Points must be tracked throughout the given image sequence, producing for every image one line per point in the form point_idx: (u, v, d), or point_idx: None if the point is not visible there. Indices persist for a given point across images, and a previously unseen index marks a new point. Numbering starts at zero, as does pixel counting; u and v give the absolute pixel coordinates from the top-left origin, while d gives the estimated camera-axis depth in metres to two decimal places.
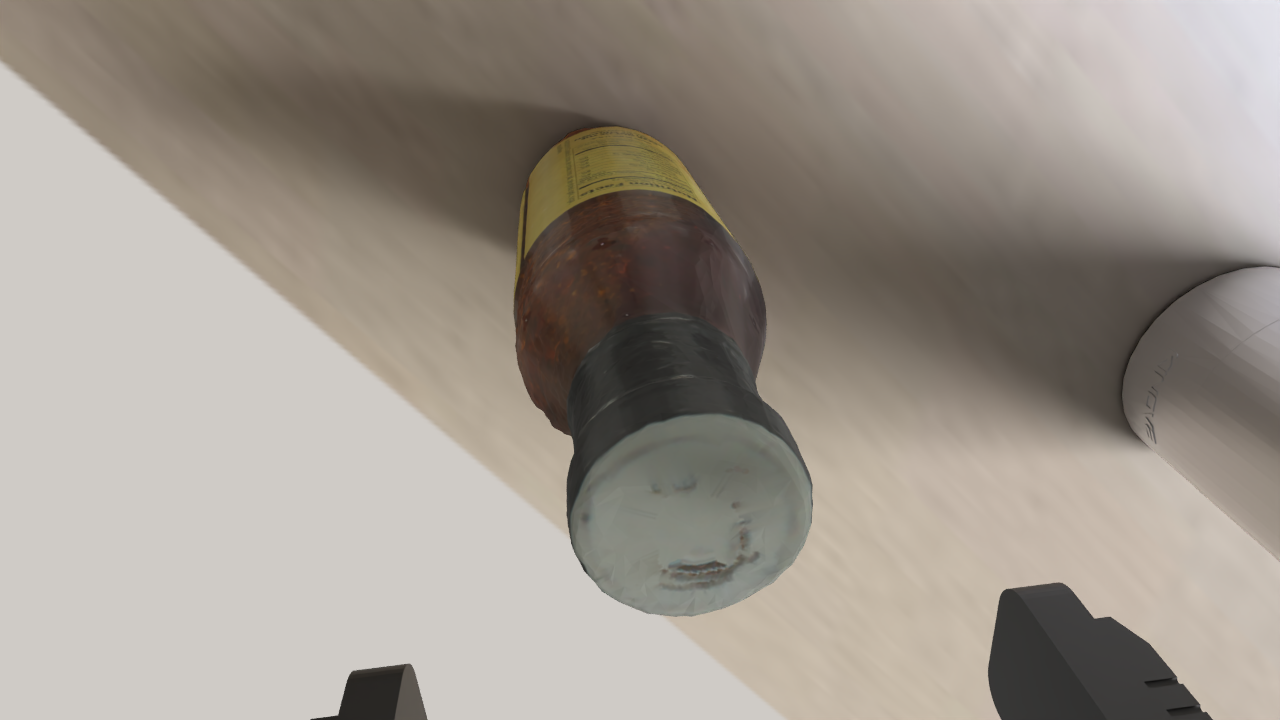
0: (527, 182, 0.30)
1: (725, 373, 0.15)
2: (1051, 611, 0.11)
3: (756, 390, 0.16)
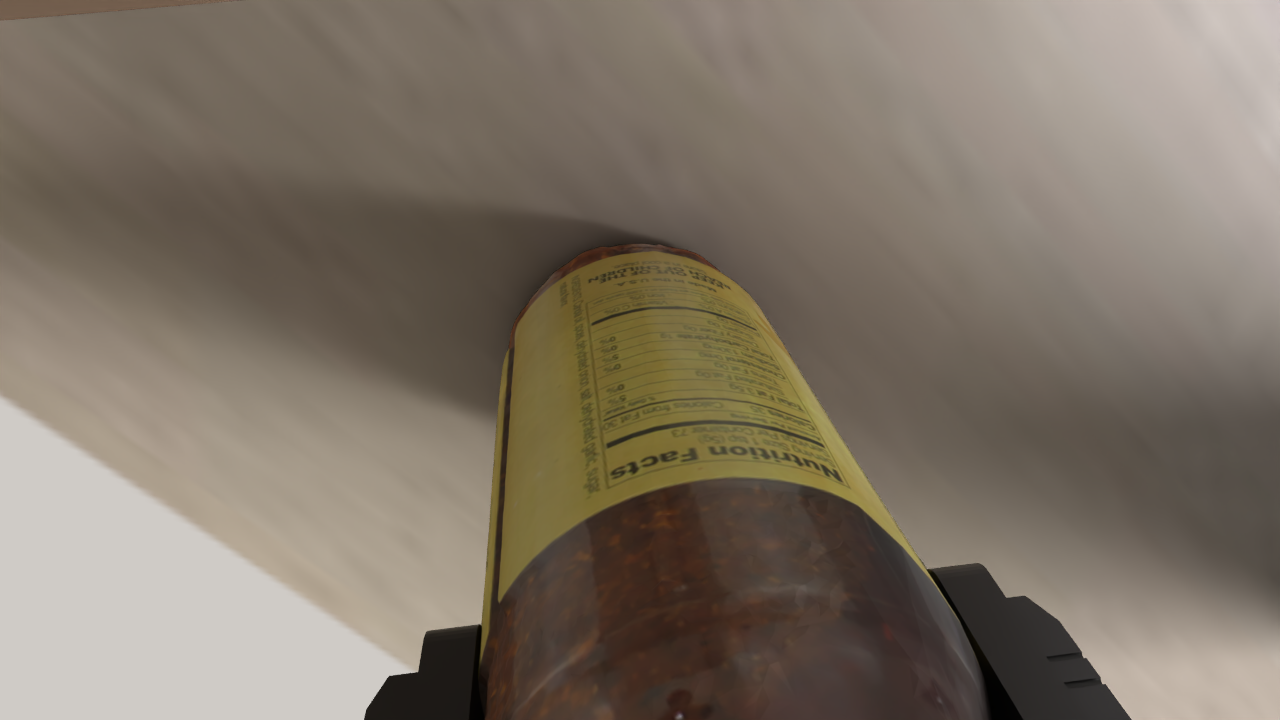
0: (512, 330, 0.19)
1: None
2: (965, 589, 0.11)
3: None
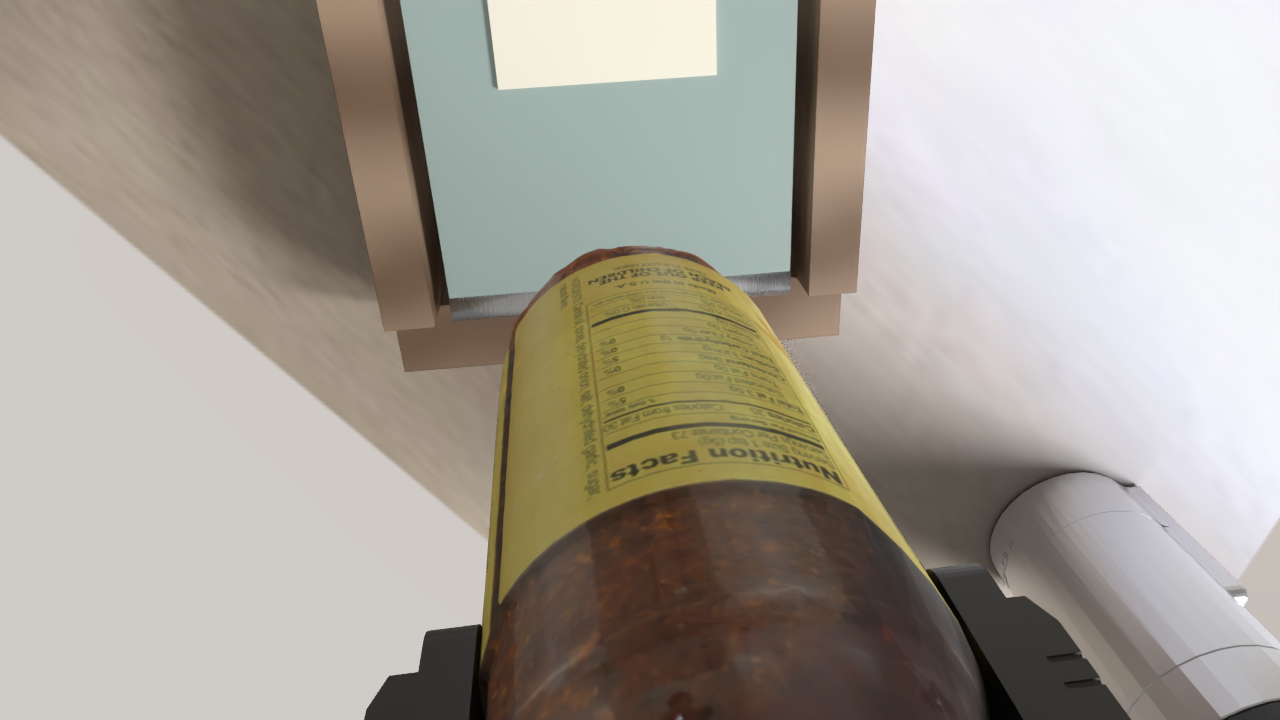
0: (512, 331, 0.19)
1: None
2: (965, 589, 0.11)
3: None
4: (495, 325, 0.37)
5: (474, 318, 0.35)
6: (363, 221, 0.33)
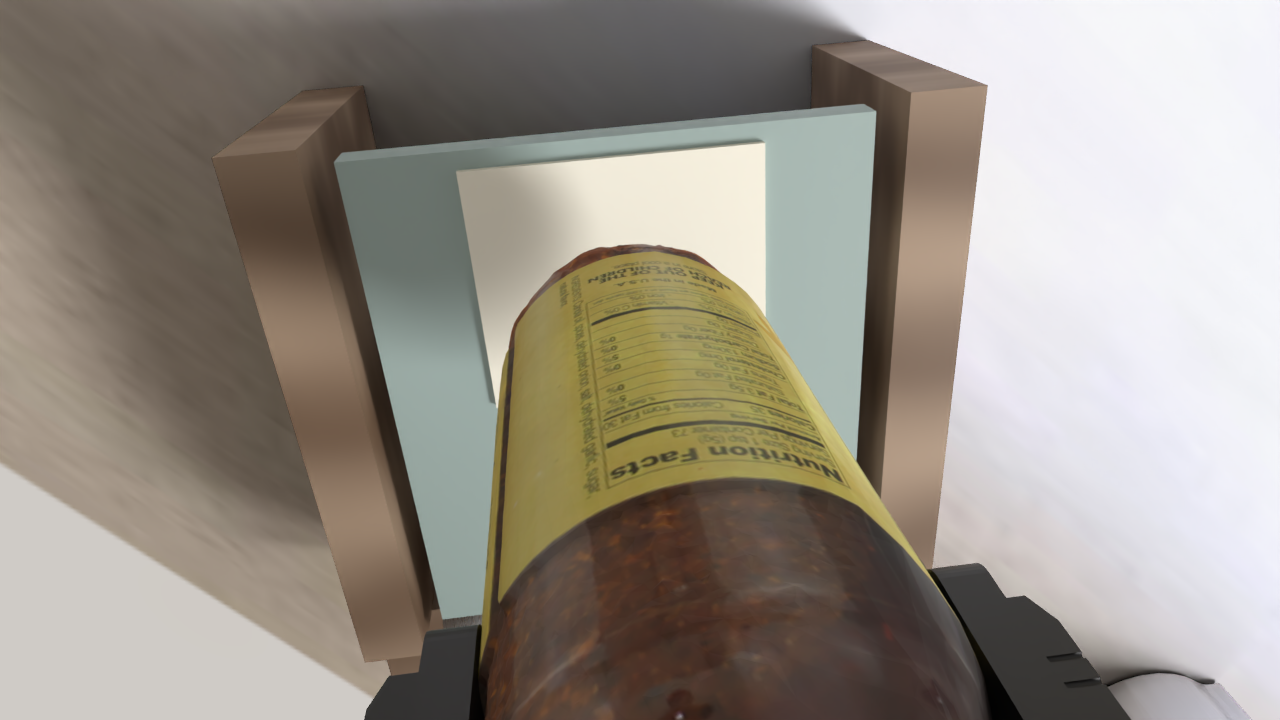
0: (512, 330, 0.19)
1: None
2: (965, 589, 0.11)
3: None
4: None
5: None
6: (334, 555, 0.27)
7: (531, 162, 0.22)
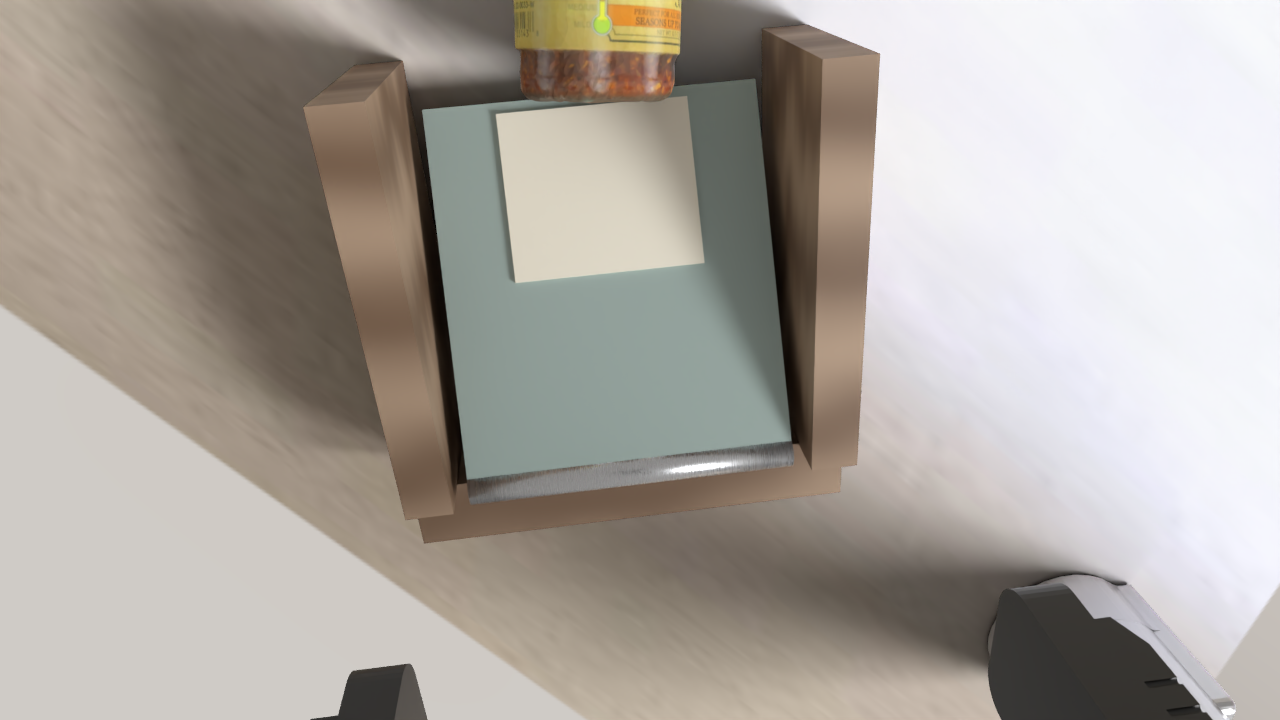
0: None
1: None
2: (1051, 611, 0.11)
3: None
4: None
5: (490, 499, 0.36)
6: (384, 427, 0.34)
7: (542, 109, 0.36)
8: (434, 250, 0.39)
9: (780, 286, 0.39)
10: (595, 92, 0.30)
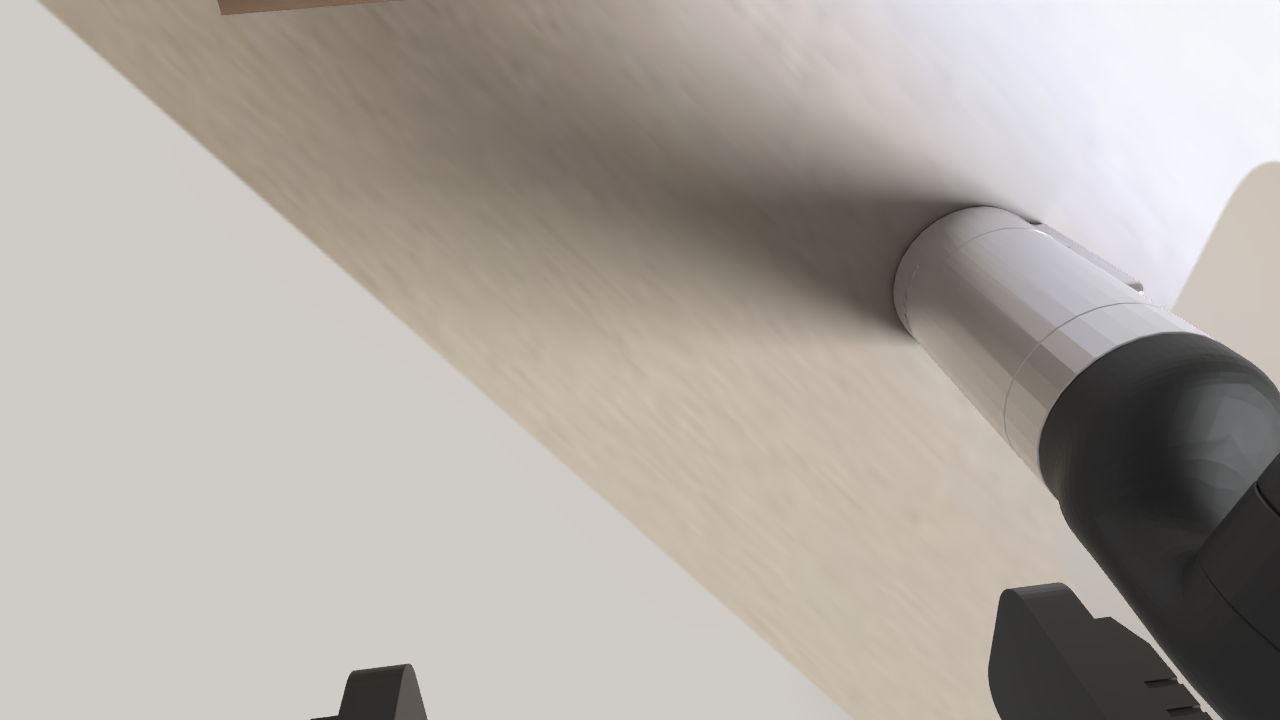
0: None
1: None
2: (1051, 611, 0.11)
3: None
4: None
5: None
6: None
7: None
8: None
9: None
10: None
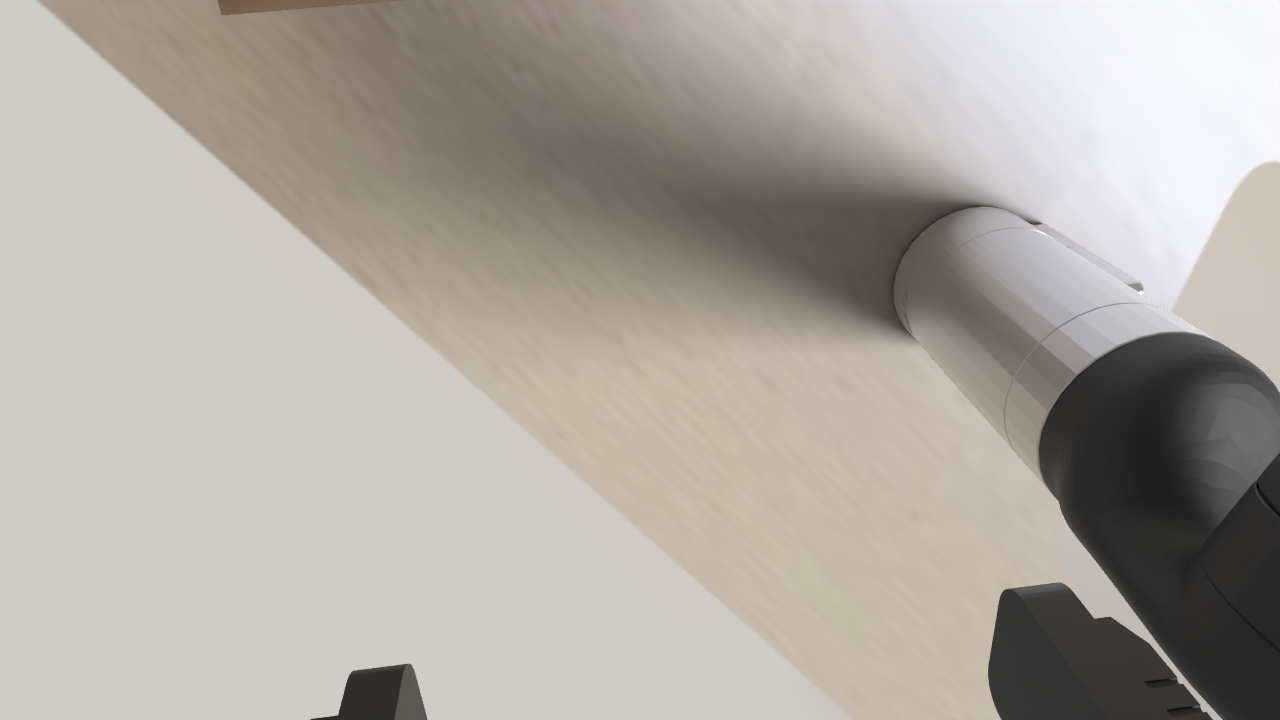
0: None
1: None
2: (1051, 611, 0.11)
3: None
4: None
5: None
6: None
7: None
8: None
9: None
10: None
